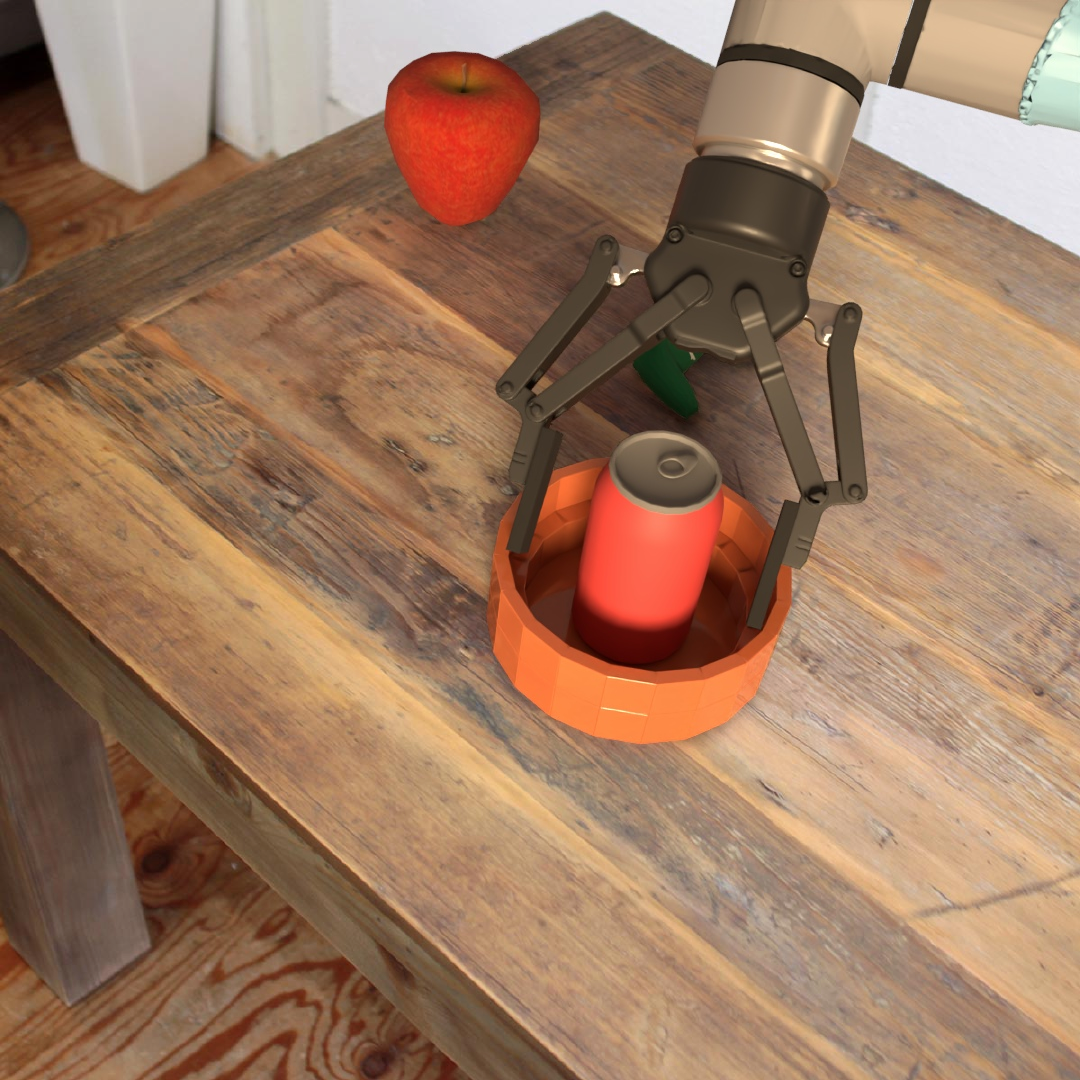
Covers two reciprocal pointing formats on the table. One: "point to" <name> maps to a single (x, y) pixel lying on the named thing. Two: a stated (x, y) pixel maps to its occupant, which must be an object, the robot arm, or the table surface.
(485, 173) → the apple
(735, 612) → the bowl
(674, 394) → the gaming controller
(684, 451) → the beer can
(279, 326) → the table surface
